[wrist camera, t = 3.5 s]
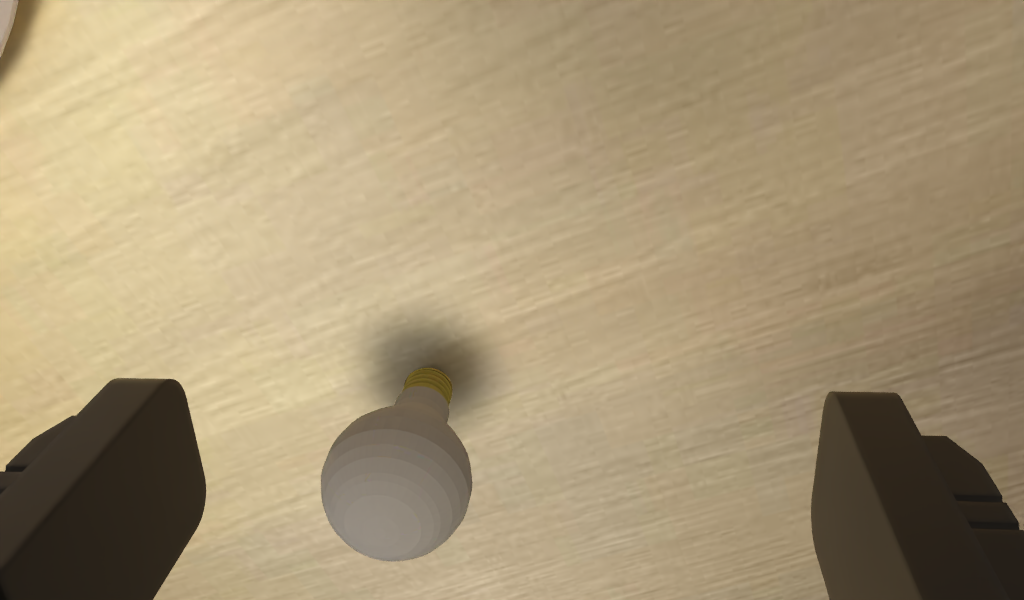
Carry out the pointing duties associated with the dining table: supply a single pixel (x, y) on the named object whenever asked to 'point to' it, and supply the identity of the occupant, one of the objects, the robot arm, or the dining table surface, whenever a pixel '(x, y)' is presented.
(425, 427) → the light bulb
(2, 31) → the plate
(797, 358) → the dining table surface
